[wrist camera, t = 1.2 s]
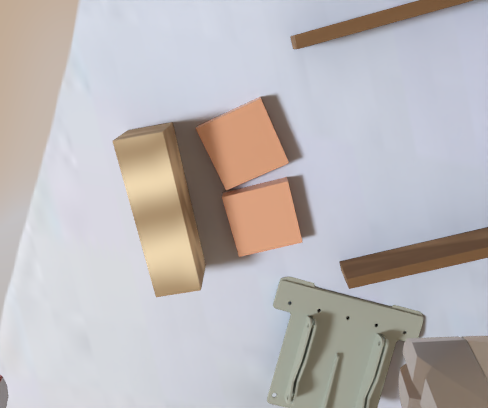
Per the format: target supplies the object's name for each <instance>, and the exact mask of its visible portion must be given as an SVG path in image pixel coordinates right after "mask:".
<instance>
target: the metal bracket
mask: <svg viewBox="0 0 488 408" xmlns="http://www.w3.org/2000/svg"><path fill="white" fill-rule="evenodd" d="M289 301H291V302H292V303H291V304H290V305H289V304H288V302H289ZM273 306H274V308H276V309H279V310H283V311H287V312H290V314H291V316H290V319H289V323H288V326H287V330H286V334H285V337H284V341H283V344H282V348H281V351H280V355H279V358H278V362H277V365H276V369H275V372H274V376H273V380H272V383H271V387H270V390H269V394H268V397H267V401H268V403H270V404H274V405H278V406H282V407H287V408H377V406H378V403H379V400H380V396H381V393H382V389H383V386H384V382H385V379H386V376H387V372H388V369H389V365H390V362H391V358H392V355H393V352H394V348H395V345H396V342H397V341H398V340H401V341H406V339H407V338H418V337H419V334H420V330H421V327H422V323H423V315H422V314H421V313H420V312H419V311H415V310H411V309H408V308H404V307H400V306H396V305H393V306H386V305H382V304H378V303H374V302H370V301H366V300H363V299H359V298H355V297H351V296H347V295H343V294H340V293H336V292H332V291H328V290H324V289H320V288H317V287H315V286H314V283H311V282H306V281H304V280H300V279H297V278H293V277H284V278H281V279H280V282H279V285H278V289H277V292H276V296H275V299H274V303H273ZM318 309H321V311H320V312H317V310H318ZM347 316H349V319H346V317H347ZM375 324H378V326H377V327H375ZM403 331H406V333H405V334H403ZM273 393H276V394H277V396H276V397H272V394H273Z"/></svg>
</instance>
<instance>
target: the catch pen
mask: <svg viewBox="0 0 488 408" xmlns="http://www.w3.org/2000/svg"><path fill="white" fill-rule="evenodd" d="M469 1H472V0H419V1H415V2H411V3H408V4H404V5H401V6H397V7H394V8H390V9H387V10H383V11H379V12H376V13H372V14H369V15H365V16H362V17H358V18H354V19H351V20H347V21H344V22H340V23H337V24H333V25H330V26H326V27H322V28H319V29H315V30H312V31H308V32H305V33H301V34H297V35H294V36H290V37H291V41H292V46H293V49H300V48H303V47H307V46H310V45H314V44H318V43H321V42H325V41H328V40H332V39H336V38H339V37H343V36H346V35H350V34H354V33H357V32H361V31H364V30H368V29H372V28H375V27H379V26H382V25H386V24H390V23H393V22H397V21H400V20H404V19H408V18H411V17H415V16H418V15H422V14H426V13H429V12H433V11H436V10H440V9H444V8H447V7H451V6H454V5H458V4H462V3H465V2H469ZM484 258H488V227H487V228H483V229H478V230H474V231H470V232H465V233H461V234H457V235H452V236H448V237H444V238H439V239H435V240H431V241H427V242H422V243H418V244H414V245H409V246H405V247H401V248H396V249H392V250H388V251H383V252H379V253H375V254H370V255H366V256H362V257H357V258H353V259H349V260H345V261H340V266H341V271H342V273H343V275H344V278H345V280H346V283H347V285H348V287H349V289H351V288H355V287H360V286H364V285H368V284H373V283H377V282H382V281H386V280H391V279H395V278H400V277H404V276H408V275H413V274H417V273H422V272H426V271H431V270H435V269H439V268H444V267H448V266H453V265H457V264H462V263H466V262H470V261H475V260H479V259H484Z"/></svg>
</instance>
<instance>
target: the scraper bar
mask: <svg viewBox="0 0 488 408" xmlns="http://www.w3.org/2000/svg"><path fill="white" fill-rule="evenodd" d="M113 144H114V148H115V151H116V155H117V159H118V162H119V166H120V169H121V173H122V177H123V180H124V184H125V187H126V191H127V195H128V198H129V202H130V205H131V209H132V212H133V216H134V220H135V223H136V227H137V230H138V234H139V238H140V241H141V245H142V248H143V252H144V256H145V259H146V263H147V266H148V270H149V273H150V277H151V281H152V284H153V288H154V291H155V295H156V297H160V296H167V295H173V294H179V293H186V292H192V291H198V290H201V287H202V282H203V276H204V271H205V266H206V264H205V260H204V256H203V251H202V247H201V243H200V239H199V234H198V230H197V226H196V221H195V217H194V213H193V208H192V204H191V200H190V195H189V191H188V187H187V182H186V178H185V174H184V169H183V165H182V161H181V157H180V152H179V148H178V144H177V139H176V135H175V131H174V126H173V122H170V123H165V124H160V125H154V126H149V127H143V128H138V129H132V130H128V131H126V132H125V133H123V134H122V135H120V136H119V137H118V138H116V139H115V140H113Z"/></svg>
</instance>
